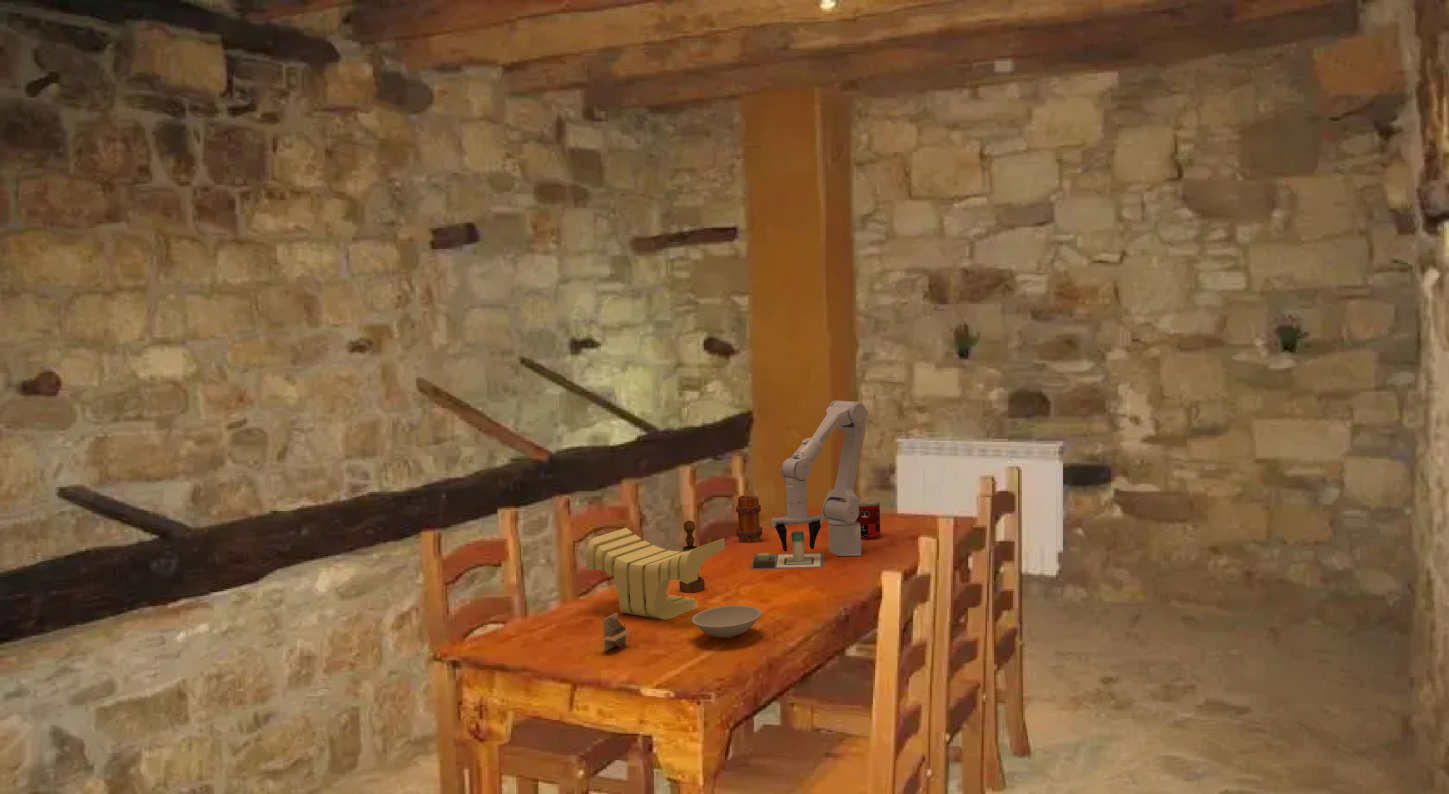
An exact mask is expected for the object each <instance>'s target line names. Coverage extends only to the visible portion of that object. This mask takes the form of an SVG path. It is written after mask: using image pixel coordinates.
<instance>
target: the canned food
mask: <svg viewBox="0 0 1449 794" xmlns="http://www.w3.org/2000/svg"><path fill="white" fill-rule="evenodd" d="M858 507H859V515H858V518H857V520H856V521H855V523H860V530H861V541H862V540H863V541H869V540H870V541H871V540H877V539H879V538H881V510H880V509H881V506H880V501H879V500H877V499H859V504H858Z"/></svg>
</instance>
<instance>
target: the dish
mask: <svg viewBox="0 0 1449 794" xmlns="http://www.w3.org/2000/svg"><path fill="white" fill-rule="evenodd" d="M762 614H763V613H762V610H761V609H760V608H759V607H755V606H750V605H744V604H743V605H742V604H740V605H739V604H735V605H733V604H732V605H722V606H717V607H711V608H707V609H704V610H702V611H700V612H698V613H696V614H694V615H693V616H692V618H691V622H692V624H693V625H695V626H697V627H698V629H699V630H701V631H702V632H703V633H705V634H707V635H709V636H710V637H711V636H712V637H714V638H715V637H716V638H724V639H732V638H733V637H736V636H739V635H741V634H744V633H745V632H747V631H748V630H750V629H751V628H752V627H753V626H754V624H755V623H756V622H757V620H758V619H760V618H761V616H762Z"/></svg>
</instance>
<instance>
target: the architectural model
mask: <svg viewBox="0 0 1449 794" xmlns="http://www.w3.org/2000/svg"><path fill="white" fill-rule="evenodd" d="M602 623H603V625H602V626H603V637H602V638H601V640H602V641H603V644H604V645H603V646H604V652H607V651H609V650H611V649H613V648H615V647H614V646H616V647H617V646H618V648H622V645H625V646H626V645H627V638H626V637H627V635H629V634H631V632H632V631H631V630H626V623H624V624H622V623H621V622H620V620H619V612H615V613H613V614H611V615H609V616H607V617H605V618H603V619H602ZM608 649H609V650H608Z"/></svg>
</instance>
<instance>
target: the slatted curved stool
mask: <svg viewBox="0 0 1449 794" xmlns="http://www.w3.org/2000/svg"><path fill="white" fill-rule="evenodd" d="M725 540H726V539H725V537H723V538H720V539H716V540H714V541H711V542H707V543H706V544H702V545H700V546H697V548H694V549H692V550H690V551H685V552H683V551H678V550H677V551H675V550H670V549H668V550H667V549H666V548H663V547H660V546H656V545H653V544H652V545H651V543H650V542H648V541H646V540H642V538H641V537H639V536H638V535H637V534H633V532H632V531H631V530H630V529H628V528H627V527H624V528H622V529H618V530H614V531H612V532H608V533H604V534H603V535H598V536H595V537H593V538H592V539H591V540H590V541H589V542H588V544H587V546H586V549H585V559H586V560H585V561H586V571H587V572H588V571H593V570H596V571H604V572H605V573H606V574H608V575H609V576H610V577H613V581H614V582H613V583H614V585H615V590H616V592H617V597H618V603H619V605H618V606H619V609H620V610H619V611H620V613H622V614H628V615H633V616H641V617H645V618H653V619H660V620H671V619H672V618H676V617H677V616H679V615H682V614H684V613H685V614H686V613H687V612H689V611H693V610H694V609H696V608H698V607H699V604H698V601H697V600H696V598H694V597H688V596H685V597H684V596H680V595H674V594H670V595H668V594H667V590H668V588H669V586H670V584H671V580H674V581H679V582H680V581H681V582H684V583H686V584H688V583H691V582H693V581H696V580H698V574H699V575H700V569H701V566H702V565H703V564H704V562H706V560H707V559H708V558H710V557H712V556H714V555H715V554H717V553H719V552H721V551H725V550H726V546H725V545H726V544H725Z"/></svg>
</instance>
